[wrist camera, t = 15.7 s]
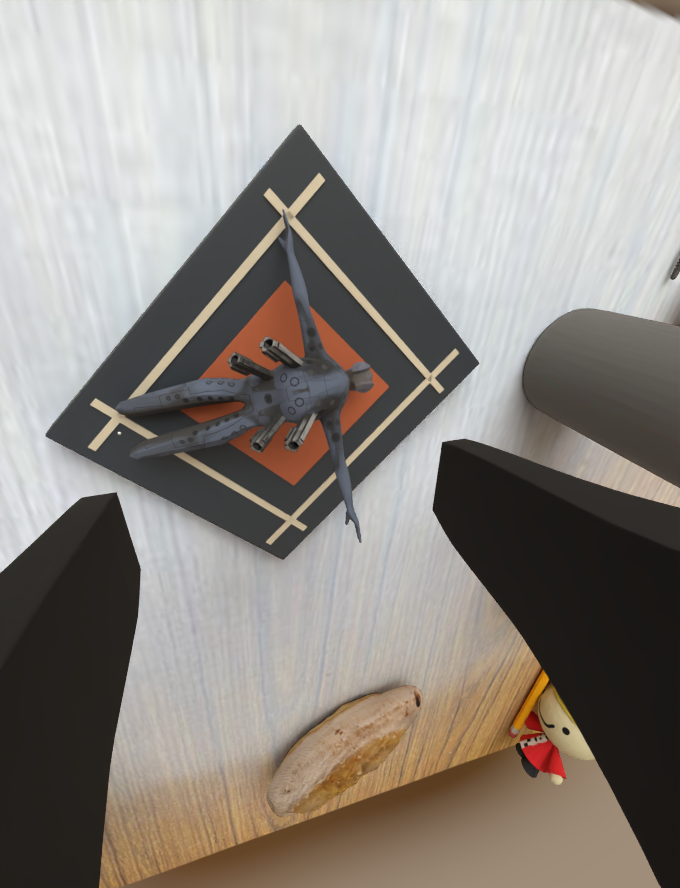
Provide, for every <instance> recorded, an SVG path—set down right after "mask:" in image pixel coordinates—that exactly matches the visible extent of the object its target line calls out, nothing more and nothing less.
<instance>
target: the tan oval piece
mask: <svg viewBox="0 0 680 888" xmlns="http://www.w3.org/2000/svg"><path fill="white" fill-rule="evenodd" d="M422 702H423V697H422V692H421V691H420V690H419V689H418V688H417V687H415V686H413V685H405V686H401V687H398V688H395V689H391V690H388V691H386V692H384V693H376V694H369V695H367V696H365V697H363V698H360V699H357V700H355V701H352V702H350V703H346V704H344V705H342V706H341V707H340V708H339V709H337V710H336V711H335V712H334V714H333V715H331V716H329V717H327V718H326V719H325V720H324V721H323V722H322V723H321V724H319V725H317V726H316V727H314V728H313V729H311V730H310V731H309V732H308V733H307V734H306V735H305V736H303V737H302V738H301V739H300V740H299V741H298V742H297V743H296V744H295V745H294V746H293V747H292V748H291V750H290V751H289V752H288V753H287V755H286V756H285V758H284V760H283V762H282V764H281V765H280V766H279V768H278V770H277V771H276V773H275V775H274V776H273V777H272V779H271V781H270V783H269V785H268V789H267V801H268V804H269V806H270V807H271V809H272V811H273V812H274V813H275V814H276V815H277V816H280V817H288V816H290V815H292V814H295V813H306V812H309V811H315V810H317V809H319V808H320V807H322V806H323V805H324V804H325V803H327V802H328V801H330V800H331V799H332V798H333V797H335V796H336V795H340V794H342V793H343V792H344V791H345V790H346V789H347V788H348V787H350V786H353V785H355V784H356V783H357V782H358V780H359V778H361V777H362V776H363V775H365V774H367V773H368V772H371V771H373V770H375V769H377V768H378V766H379V765H380V764H381V763H382V762H384V761H385V759H386V758H387V756H388V755H389V754H390V753H391V752H392V750H393V749H394V748H395V747H396V746H397V745H398V743H399V742H400V740H401V738H402V737H403V735H404V733H405V732H406V730H407V729H408V727H409V726H410V725H411V724H412V722H413V721H414V719H415V718H416V717H417V715H418V712H419V711H420V709H421V707H422Z"/></svg>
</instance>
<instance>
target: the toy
mask: <svg viewBox="0 0 680 888" xmlns="http://www.w3.org/2000/svg"><path fill="white" fill-rule="evenodd" d="M538 716H539V717H538ZM525 725H526V726H527V728H528V729H531V730H536V731H540V732H544V733H535V734H527V735H522V736H521V737H520V743H517V744H516V750H517V752H518V754H519V755H520V756H521V757H522V759H521V761H522V765H523V768H524V769H525V771H526V772H527V773H528V774H529V776H531V777H533V778H535V777H536V776H537V774H538V772H539V770H540V771H542V772H545V773H546V772H547V773H549V774H550V779H551V781H552V782H553V783H554V784H556V785H559V784H561V783H562V781H563V779H562V778H564V779H566V775H565V772H564V768H563V765H562V761H561V758H560V754H559V751H558V749H559V750H561V751H562V752H564V753H565V754H567V755H569V756H571V757H574V758H577V759H582V760H592V759H595V758H594V756H593V754H592V752H591V750H590V748H589V747H588V745H587V743H586V741H585V739H584V738H583V736H582V734H581V732H580V730H579V729H578V727H577V725H576V723H575V722H574V720H573V718H572V716H571V715H570V713H569V711H568V710H567V708H566V706H565V705H564V703H563V701H562V700H561V698H560V696H559V695H558V693H557V691H556V689H555V688H554V686H553V684H552V683H551V684H549V685H548V686H547V687H546V688H545V689H544V690H543V692H542V693H541V695H540V698H539V701H538V715H537V714H536V713H535V712H534V711H531V712H530V714H529V715H528V717H527V719H526V721H525Z"/></svg>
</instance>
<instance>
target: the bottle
mask: <svg viewBox="0 0 680 888" xmlns="http://www.w3.org/2000/svg"><path fill="white" fill-rule="evenodd" d="M523 386H524V391H525V394H526V397H527V399H528V400H529V402H530V403H531V404H532V405H533V406H534V407H535V408H537V409H538V410H540V411H542V412H543V413H545V414H547V415H548V416H550V417H552V418H553V419H555V420H557V421H559V422H561V423H563V424H564V425H566V426H568V427H570V428H572V429H573V430H575V431H577V432H579V433H581V434H582V435H584V436H586V437H588V438H590V439H591V440H593V441H595V442H597V443H599V444H600V445H602V446H604V447H606V448H608V449H609V450H611V451H613V452H615V453H617V454H618V455H620V456H622V457H624V458H626V459H628V460H629V461H631V462H633V463H635V464H637V465H639V466H640V467H642V468H644V469H646V470H648V471H650V472H651V473H653V474H655V475H657V476H659V477H661V478H662V479H664V480H666V481H668V482H670V483H672V484H673V485H675V486H677V487H679V488H680V326H676V325H671V324H666V323H662V322H657V321H652V320H647V319H643V318H638V317H633V316H628V315H623V314H619V313H614V312H609V311H603V310H598V309H578V310H574V311H571V312H569V313H567V314H565V315H563V316H561V317H560V318H558V319H557V320H555V321H554V322H553V323H552V324H551V325H550V326H549V327H547V328H546V330H545V331H544V332H543V333H542V334H541V335H540V337H539V338H538V340H537V341H536V343H535V344H534V346H533V348H532V350H531V351H530V353H529V356H528V359H527V361H526V365H525V370H524V374H523Z"/></svg>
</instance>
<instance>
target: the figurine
mask: <svg viewBox="0 0 680 888" xmlns="http://www.w3.org/2000/svg"><path fill="white" fill-rule="evenodd" d="M282 211H283V220H284V224H285V228H286V232H287V237H286V240H285V241H284V240H282V239H281V238H280V237H278V240H279V242H280V243H281V245H282V247H283V249H284V251H285V252H286V253H287V257H288V263H289V270H290V278H291V286H292V291H293V297H294V301H295V304H296V308H297V312H298V317H299V322H300V327H301V333H302V339H303V346H304V353H305V356H304V357H303V358H299V357H297V356H296V355H295V354H293V353H292V352H291V351H290V350H288V349H287V348H286V347H284V346H283V345H282V344H281V343H279V342H278V341H277V340H273V339H272V338H270V337H269V336H266V337H265V338H264V339H263V341H260V344H259V348H261V350H262V353H263V354H264V355H265V356H267V357H268V358H270V359H271V360H273V361H274V362H275V363H277V362H278V361H280V362H281V363H282V364H280V365H279V366H278V367H276V368H275V369H274V370H269V369H267V368H265V367H263V366H261V365H258V364H256V363H254V362H253V361H252V360H251V359H249V358H247V357H245V356H243V355H241V354H239V353H237V352H234V353H232V354H231V357H228V361H227V363H229V366H230V368H231V369H232V370H233V371H236V372H238V373H240V374H243V375H245V376H248V375H250V374H252V375H250V376H248V377H246V378H243V379H232V378H202V379H198V380H195V381H191V382H187V383H183V384H180V385H176V386H172V387H169V388H165V389H161V390H158V391H154V392H150V393H147V394H143V395H140V396H137V397H134V398H131V399H128V400H125V401H122V402H120V403H119V404H118V405H117V407H116V408H115V409H116V410H117V412H118V413H119V414H121V415H125V416H129V417H136V416H144V415H150V414H156V413H162V412H169V411H175V410H181V409H187V408H193V407H200V406H207V405H214V404H222V403H230V402H242V403H243V404H245V405H244V407H243V408H242V409H240V410H238V411H236V412H233V413H230V414H227V415H224V416H221V417H218V418H215V419H212V420H209V421H206V422H203V423H200V424H197V425H194V426H190V427H187V428H184V429H180V430H177V431H174V432H170V433H167V434H164V435H161V436H157V437H154V438H150V439H147V440H144V441H142V442H139V443H138V444H137V445H136V446H134V447H133V448H132V449H131V450H130V457H132V458H135V459H137V460H140V459H146V458H153V457H160V456H166V455H171V454H177V453H182V452H187V451H192V450H197V449H203V448H208V447H213V446H218V445H223V444H225V443H227V442H229V441H231V440H233V439H235V438H237V437H239V436H241V435H242V434H244V433H246V432H247V431H249V430H250V429H252V428H255V427H266V428H259V429H258V431H257V432H256V433H255V434H254V435H253V436H252V438H251V439H250V445H251V446H250V448H251V449H252V450H253V451H255V450H256V452H258V453H261V452H263V451H264V449H265V448H266V447H267V446H268V444H269V443H270V442H271V440H272V437H273V436H274V434H275V433H276V432H277V431H278V429H279V428H280V427H281V425H282V424H284V423H286V422H289V423H295V424H297V425H296V426H295V427H293V426H292V427H291V429H290V430H289V432H288V434H287V436H286V437H285V440H284V441H285V445H284V447H285V449H286V450H287V451H289V450H291V452H297V451H298V449H299V447H300V446H301V445H302V444H303V442H304V440H305V438H306V436H307V434H308V432H309V430H310V428H311V426H312V424H313V422H314V421H317V420H320V422H321V424H322V427H323V430H324V433H325V436H326V439H327V443H328V446H329V449H330V453H331V457H332V461H333V465H334V470H335V475H336V478H337V481H338V485H339V487H340V490H341V493H342V496H343V499H344V502H345V505H346V508H347V511H346V521H345V524H346V525H347V524H348V522H349V520H352V521H353V522H354V524H355V528H356V533H357V537H358V539H359V542H360V543H361V534H360V528H359V521H358V518H357V516H356V513H355V511H354V508H353V501H352V488H351V481H350V476H349V471H348V468H347V465H346V462H345V457H344V450H343V440H342V431H341V421H340V415H341V410H342V408H343V407H344V405H345V402H346V399H347V397H348V394H349V391H358V392H360V393H366V392H368V391H369V390H371V389H372V387H373V386H374V383H373V382H372V378H373V375H372V373H371V371H370V365H369V364H367V363H365V362H357V363H355V364H353V366H352V367H351V368H349V369H348V370H346V371H344V369H343V368H342V367H341V366H340V365H339V364H338V363H337V362H336V361H335V360H334V359H333V358H331V357H330V356H329V355H328V354H327V353H326V351H325V349H324V347H323V344H322V341H321V338H320V336H319V333H318V330H317V327H316V324H315V322H314V319H313V316H312V313H311V310H310V306H309V300H308V294H307V289H306V285H305V281H304V278H303V275H302V273H301V270H300V267H299V265H298V262H297V260H296V257H295V254H294V248H293V237H292V232H291V229H290V226H289V223H288V219H287V216H286V214H285V211H284V209H282ZM118 434H119V435H121V432H118Z"/></svg>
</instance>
